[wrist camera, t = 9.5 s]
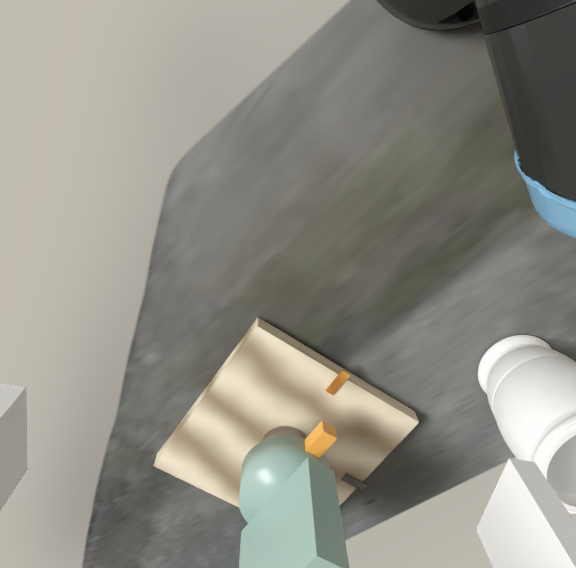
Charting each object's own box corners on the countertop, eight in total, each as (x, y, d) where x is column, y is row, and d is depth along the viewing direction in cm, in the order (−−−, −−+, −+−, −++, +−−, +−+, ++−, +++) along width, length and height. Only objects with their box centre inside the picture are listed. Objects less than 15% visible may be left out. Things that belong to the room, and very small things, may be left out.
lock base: (261, 312, 50) (260, 339, 44) (423, 409, 55) (438, 444, 49) (157, 453, 56) (145, 491, 51) (310, 528, 61) (313, 570, 56)
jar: (582, 362, 53) (692, 461, 39) (509, 422, 56) (587, 534, 42) (521, 305, 50) (616, 390, 36) (447, 372, 53) (508, 474, 39)
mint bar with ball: (219, 486, 50) (200, 626, 37) (290, 401, 47) (297, 523, 34) (290, 522, 53) (296, 665, 40) (364, 443, 49) (397, 572, 36)
